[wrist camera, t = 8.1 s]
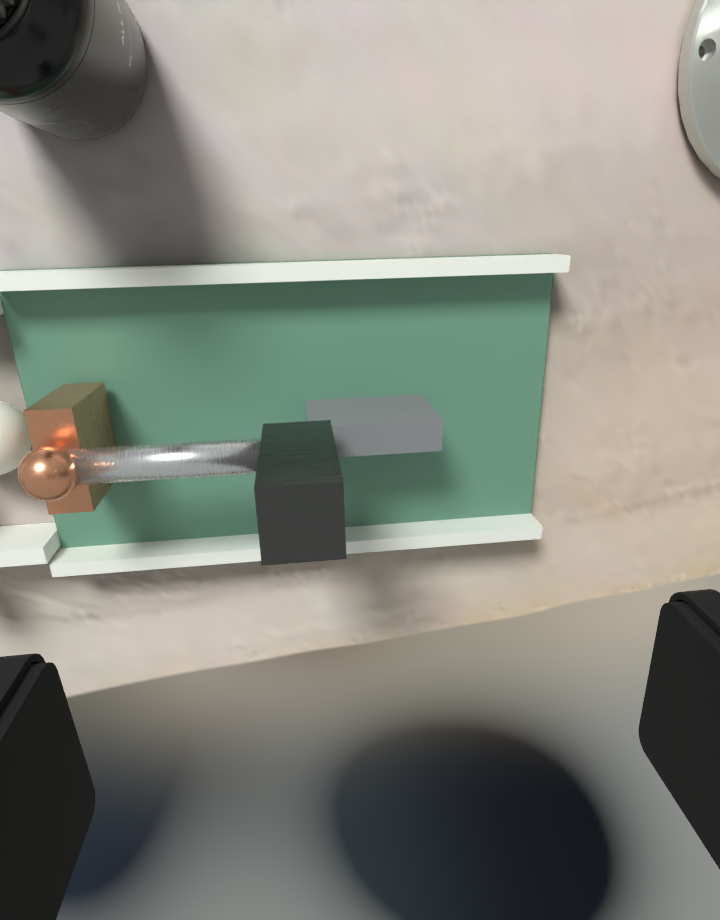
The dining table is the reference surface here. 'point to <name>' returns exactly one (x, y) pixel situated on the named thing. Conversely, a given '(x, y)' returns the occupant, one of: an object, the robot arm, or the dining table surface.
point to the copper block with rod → (191, 470)
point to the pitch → (295, 395)
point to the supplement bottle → (70, 65)
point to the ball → (12, 437)
